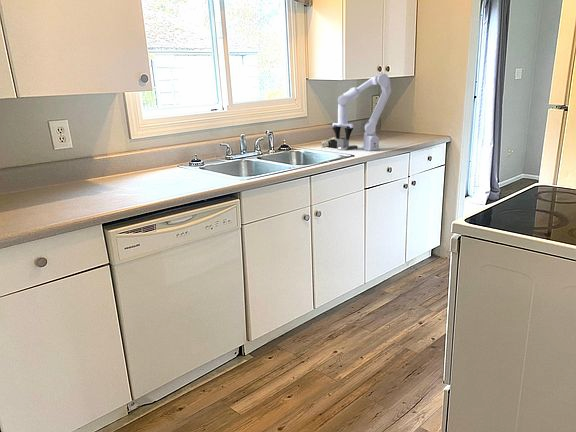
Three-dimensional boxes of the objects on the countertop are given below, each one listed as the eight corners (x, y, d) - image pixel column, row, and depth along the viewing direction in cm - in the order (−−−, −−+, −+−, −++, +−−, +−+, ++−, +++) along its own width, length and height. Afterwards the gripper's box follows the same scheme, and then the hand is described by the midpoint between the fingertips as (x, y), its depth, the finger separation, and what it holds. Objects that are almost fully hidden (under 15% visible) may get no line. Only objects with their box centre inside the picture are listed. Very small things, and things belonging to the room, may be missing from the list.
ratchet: (341, 150, 277) (341, 143, 276) (335, 149, 282) (335, 142, 281) (358, 148, 283) (359, 141, 282) (353, 147, 288) (353, 140, 287)
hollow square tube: (348, 146, 280) (348, 138, 279) (343, 147, 277) (343, 139, 276) (342, 146, 284) (342, 137, 283) (337, 147, 281) (337, 138, 279)
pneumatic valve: (322, 145, 299) (341, 144, 297) (320, 149, 288) (340, 148, 286) (322, 137, 297) (340, 136, 295) (320, 140, 287) (339, 139, 284)
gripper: (329, 116, 278) (329, 139, 282) (347, 117, 267) (347, 141, 271) (336, 115, 282) (336, 137, 286) (355, 116, 272) (355, 139, 276)
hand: (342, 139), depth 279 cm, fingers open, 7 cm apart
